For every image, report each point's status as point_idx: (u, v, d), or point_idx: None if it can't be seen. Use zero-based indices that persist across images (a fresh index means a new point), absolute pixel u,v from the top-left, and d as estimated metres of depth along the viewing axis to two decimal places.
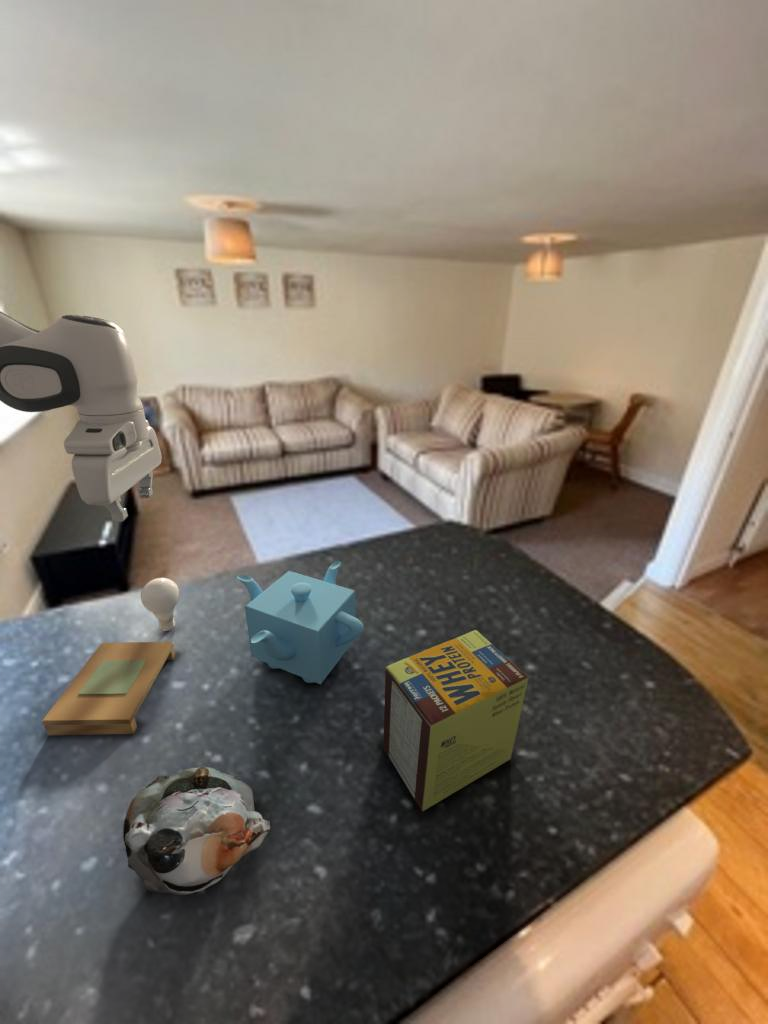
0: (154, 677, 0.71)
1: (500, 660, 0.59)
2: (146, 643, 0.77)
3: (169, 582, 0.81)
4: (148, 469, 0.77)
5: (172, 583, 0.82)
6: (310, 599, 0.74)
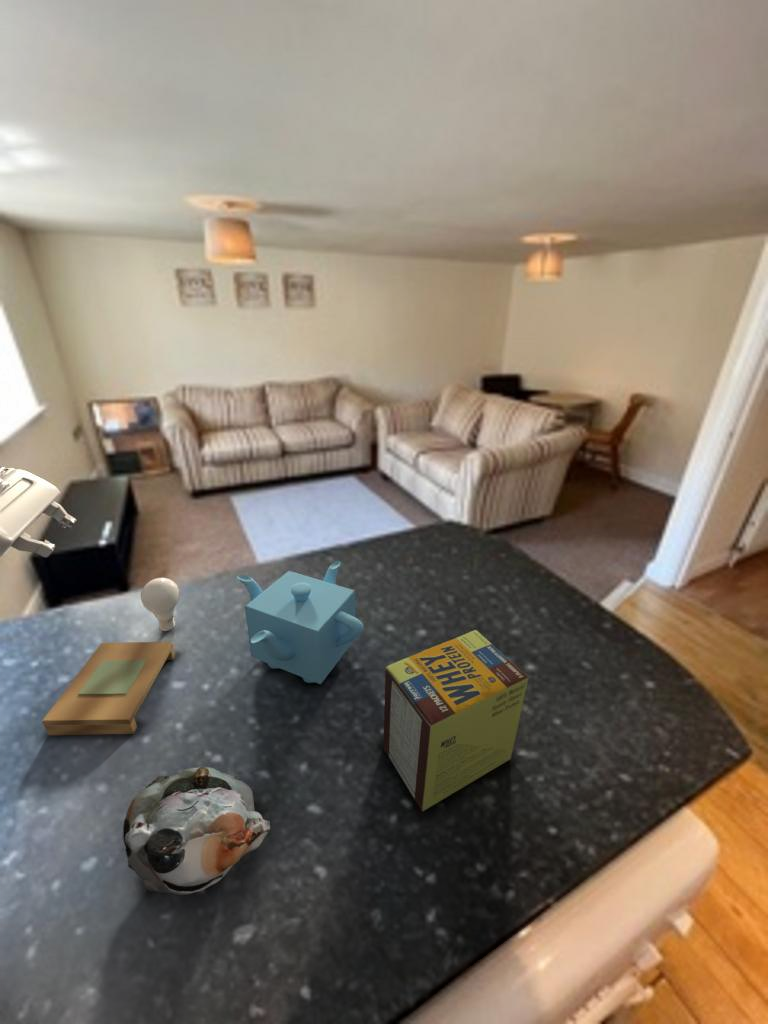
0: (154, 677, 0.71)
1: (500, 660, 0.59)
2: (146, 643, 0.77)
3: (169, 582, 0.81)
4: (44, 500, 0.74)
5: (172, 583, 0.82)
6: (310, 599, 0.74)
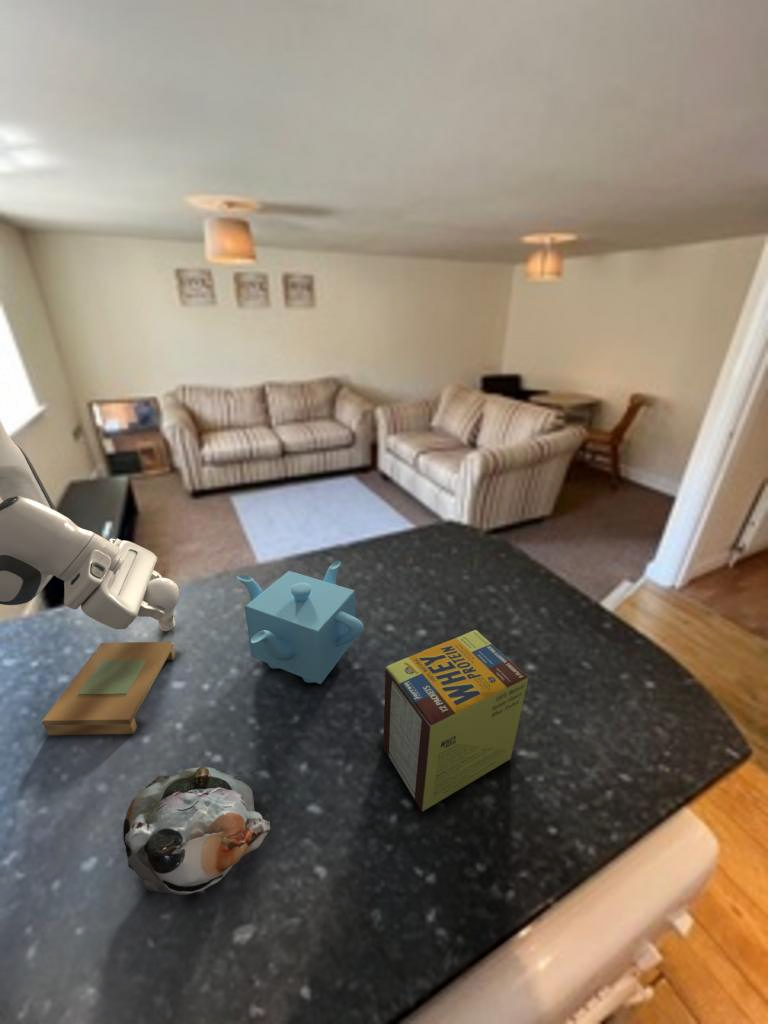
0: (154, 677, 0.71)
1: (500, 660, 0.59)
2: (146, 643, 0.77)
3: (169, 582, 0.81)
4: (149, 569, 0.83)
5: (172, 583, 0.82)
6: (310, 599, 0.74)
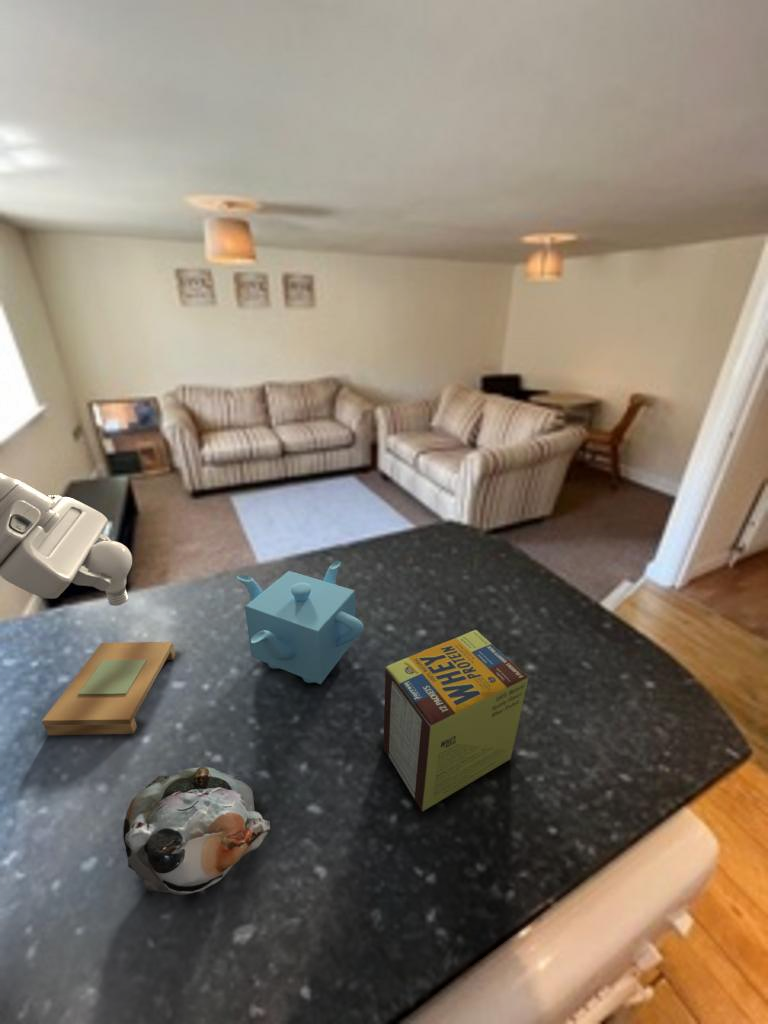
0: (154, 677, 0.71)
1: (500, 660, 0.59)
2: (146, 643, 0.77)
3: (118, 545, 0.67)
4: (95, 531, 0.69)
5: (122, 547, 0.68)
6: (310, 599, 0.74)
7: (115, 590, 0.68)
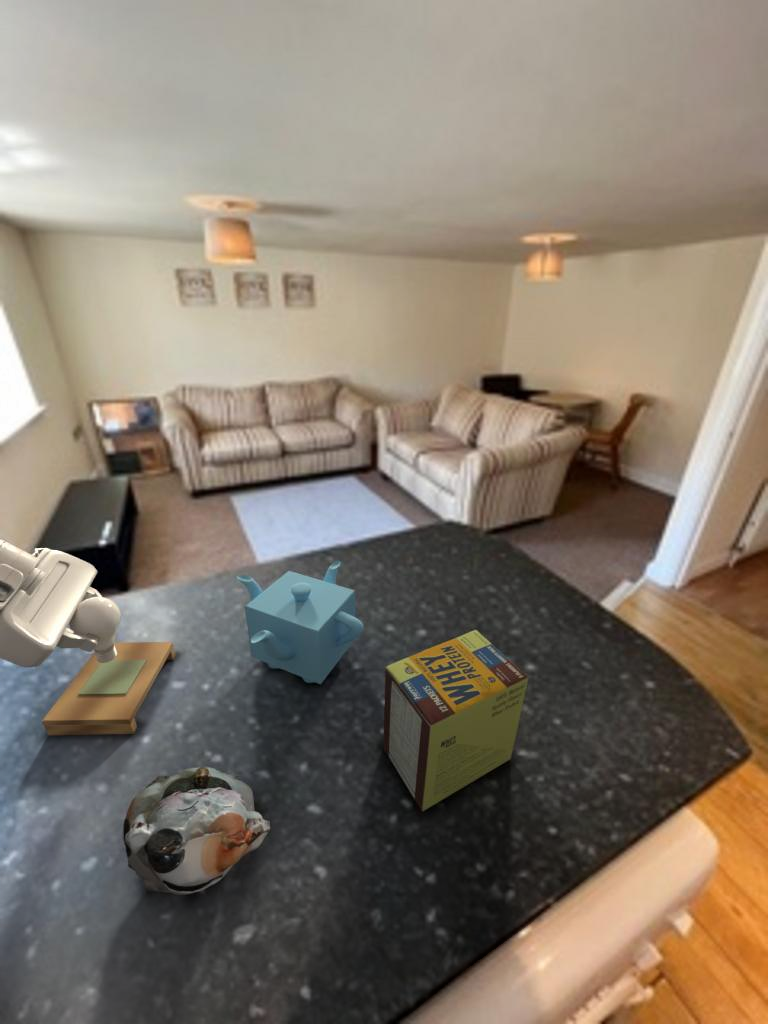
0: (154, 677, 0.71)
1: (500, 660, 0.59)
2: (146, 643, 0.77)
3: (106, 603, 0.65)
4: (82, 586, 0.67)
5: (110, 604, 0.65)
6: (310, 599, 0.74)
7: (103, 648, 0.66)
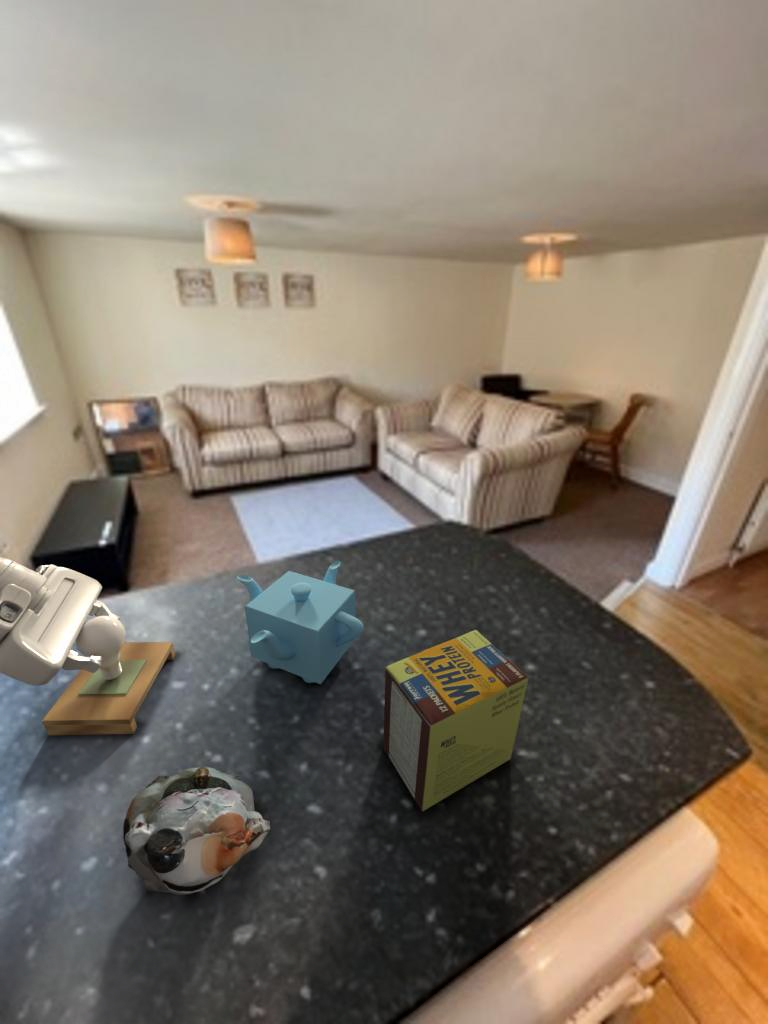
0: (154, 677, 0.71)
1: (500, 660, 0.59)
2: (146, 643, 0.77)
3: (111, 622, 0.66)
4: (88, 603, 0.68)
5: (115, 623, 0.67)
6: (310, 599, 0.74)
7: (108, 665, 0.68)
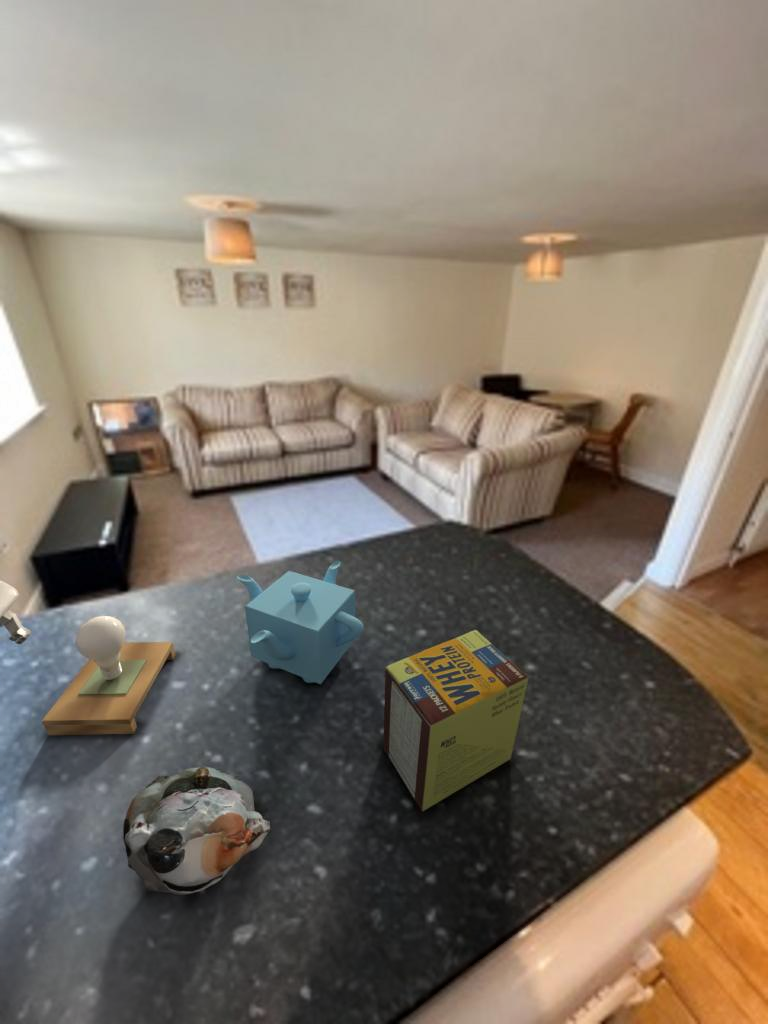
0: (154, 677, 0.71)
1: (500, 660, 0.59)
2: (146, 643, 0.77)
3: (111, 622, 0.66)
4: None
5: (115, 623, 0.67)
6: (310, 599, 0.74)
7: (108, 665, 0.68)
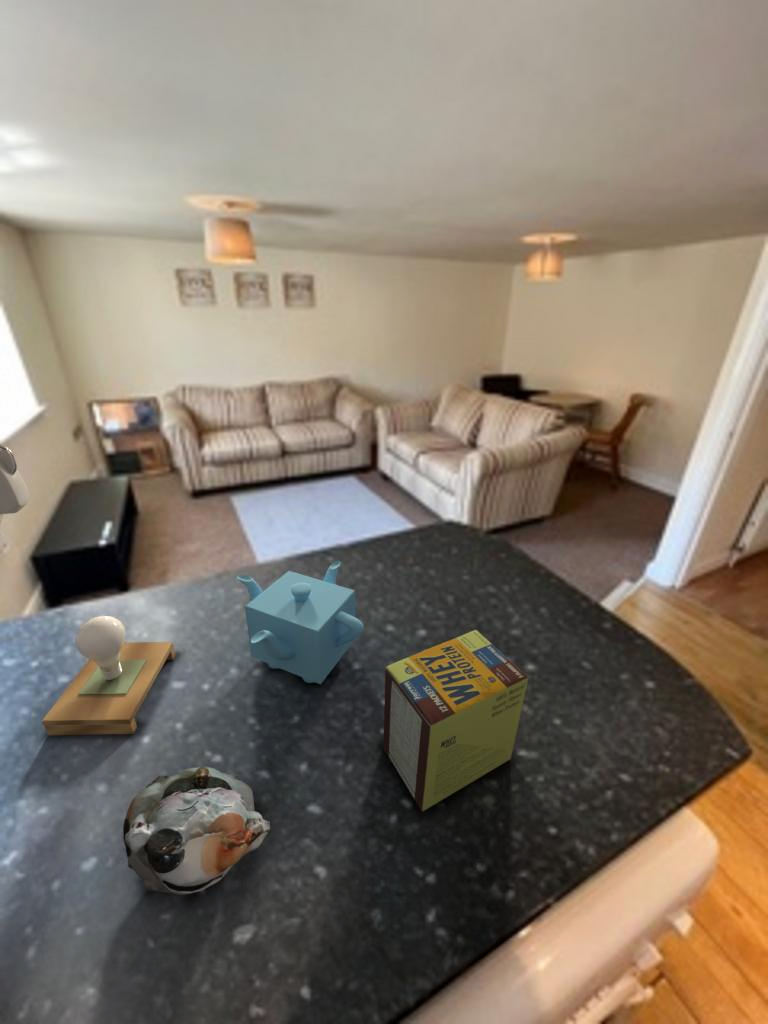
0: (154, 677, 0.71)
1: (500, 660, 0.59)
2: (146, 643, 0.77)
3: (111, 622, 0.66)
4: None
5: (115, 623, 0.67)
6: (310, 599, 0.74)
7: (108, 665, 0.68)
